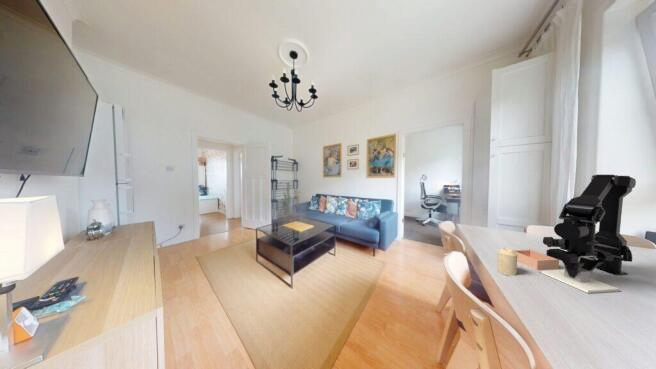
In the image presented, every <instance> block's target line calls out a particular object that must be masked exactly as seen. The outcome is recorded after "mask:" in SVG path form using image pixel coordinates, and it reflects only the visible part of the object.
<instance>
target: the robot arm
mask: <svg viewBox="0 0 656 369" xmlns="http://www.w3.org/2000/svg"><path fill="white" fill-rule="evenodd" d="M636 184H637V180H636V178H633V177H631V176H630V175H618V174H617V175H616V174H595V175H592V176H591V178H590V182H589V184H587V186H586V187H585V189H584V190H583V191H582V193H581V194H580V195H579V196H576V197H573V198H570V200H568V202H567V203H565V204H564V206H563V207H562V210H561V211H560V214H559V217H558V219H560V220H563V221H562V222H559V223H557V224H555V226H554V227H553V231H554V233H555V235H557V236H559V238H554V236H543V239H542V244H544V245H545V246H547V248H549V249H547V250H546V254H545V255H547V256H550V257H553V258H555V259H558V260H559V261H561V262H562V263H563V265H564V268H565V267H566V270H567V272H568V274H569V276H570V277H572V278H575V276H576V275H577V274H578V272H579V271H580V269H581V268H583V269H586V270H589V271H591V272H593V271H594V270H595V269H596V270H598V271H601V272H606V273H608V274H611V275H614V276H619V275H620V276H621V275H623V276H624V275H628V272H626V271H622V267H623V265H622V264H623V262H630V263H632V262H633V253H632V251H631V250H630V247H629V246H628V244H627V243H628V242H627V240H626V238H624V237H623V235H622V234H621V223H622V213H623V204H624V203H623V202H624V198H625V197H626V196H628V195H629V194H630V193H632V192H633V189H634V188H635V187H636ZM598 223H599V224H598ZM596 224H598V231H597V232H596V228H597V225H596ZM551 247H552V248H551Z"/></svg>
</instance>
